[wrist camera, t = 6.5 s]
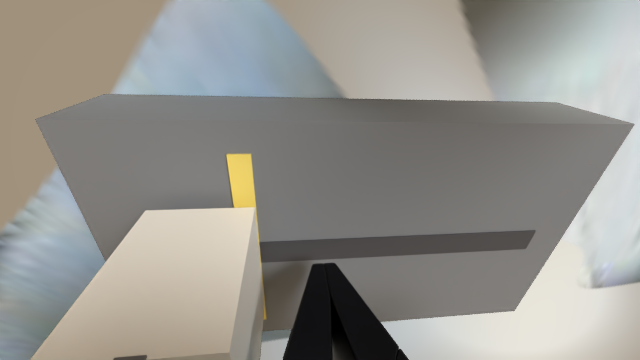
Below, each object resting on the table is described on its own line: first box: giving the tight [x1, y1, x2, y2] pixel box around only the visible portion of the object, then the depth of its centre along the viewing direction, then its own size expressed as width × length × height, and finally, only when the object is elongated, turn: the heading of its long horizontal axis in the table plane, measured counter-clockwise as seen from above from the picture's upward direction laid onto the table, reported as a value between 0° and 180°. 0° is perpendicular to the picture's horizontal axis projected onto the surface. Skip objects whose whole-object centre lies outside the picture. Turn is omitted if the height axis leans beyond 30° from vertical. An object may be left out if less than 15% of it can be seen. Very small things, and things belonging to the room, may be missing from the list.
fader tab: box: [30, 207, 264, 360], centre depth 7 cm, size 3×5×4 cm, turn 177°
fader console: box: [35, 94, 634, 331], centre depth 12 cm, size 18×10×3 cm, turn 87°
